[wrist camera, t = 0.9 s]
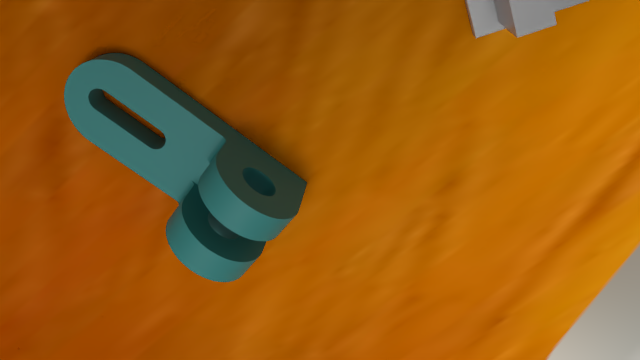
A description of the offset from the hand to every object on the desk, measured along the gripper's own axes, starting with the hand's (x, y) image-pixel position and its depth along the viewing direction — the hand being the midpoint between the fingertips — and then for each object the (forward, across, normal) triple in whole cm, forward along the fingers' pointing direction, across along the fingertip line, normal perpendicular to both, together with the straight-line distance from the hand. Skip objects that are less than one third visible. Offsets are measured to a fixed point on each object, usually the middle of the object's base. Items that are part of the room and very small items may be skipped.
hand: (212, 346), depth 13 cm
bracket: (+26, -9, -7) cm, 29 cm away
